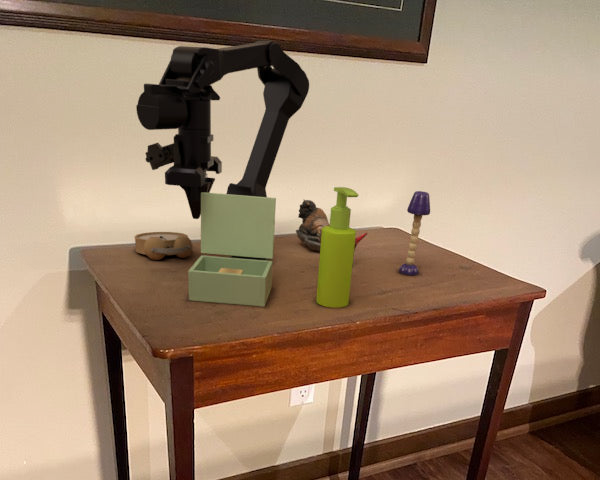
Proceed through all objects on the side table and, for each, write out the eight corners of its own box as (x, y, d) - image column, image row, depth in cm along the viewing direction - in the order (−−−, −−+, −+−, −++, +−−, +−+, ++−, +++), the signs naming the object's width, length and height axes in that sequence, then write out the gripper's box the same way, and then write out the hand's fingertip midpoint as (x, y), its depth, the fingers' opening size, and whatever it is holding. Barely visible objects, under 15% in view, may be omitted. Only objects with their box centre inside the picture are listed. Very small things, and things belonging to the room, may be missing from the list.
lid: (275, 198, 109) (275, 197, 110) (200, 192, 110) (201, 192, 110) (272, 258, 114) (273, 258, 114) (200, 253, 114) (201, 252, 115)
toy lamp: (424, 273, 132) (437, 193, 124) (412, 277, 129) (424, 195, 121) (405, 268, 134) (417, 189, 127) (393, 272, 131) (404, 191, 123)
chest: (264, 306, 108) (265, 277, 105) (188, 300, 108) (188, 270, 105) (271, 288, 117) (272, 260, 114) (201, 282, 117) (201, 255, 115)
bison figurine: (338, 253, 142) (342, 208, 137) (311, 255, 139) (314, 209, 134) (314, 240, 151) (317, 198, 147) (288, 242, 148) (290, 199, 144)
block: (216, 296, 109) (216, 274, 107) (220, 289, 112) (221, 267, 110) (239, 298, 109) (239, 276, 107) (242, 291, 112) (243, 269, 110)
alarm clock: (178, 230, 140) (200, 234, 127) (180, 252, 141) (201, 258, 129) (128, 233, 135) (146, 237, 122) (130, 256, 136) (148, 262, 124)
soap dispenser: (327, 311, 108) (337, 192, 98) (310, 298, 113) (319, 184, 104) (356, 308, 110) (370, 191, 100) (339, 295, 115) (350, 184, 106)
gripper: (164, 121, 117) (167, 205, 124) (132, 129, 101) (138, 225, 108) (222, 125, 116) (222, 210, 124) (199, 134, 100) (200, 231, 108)
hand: (196, 218), depth 116 cm, fingers closed
